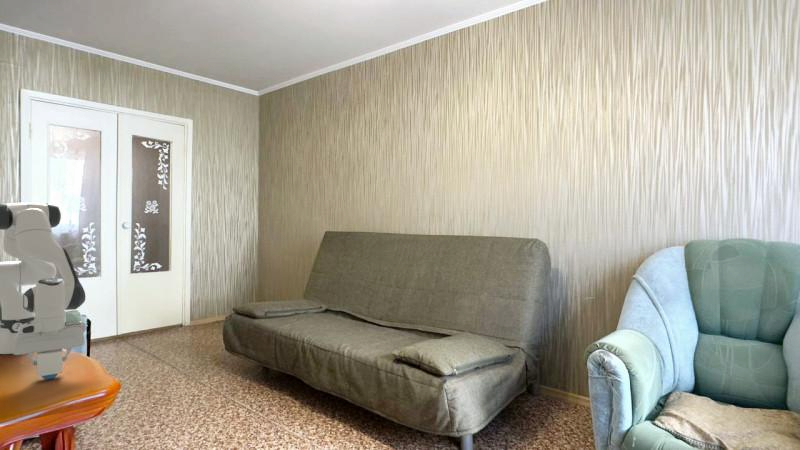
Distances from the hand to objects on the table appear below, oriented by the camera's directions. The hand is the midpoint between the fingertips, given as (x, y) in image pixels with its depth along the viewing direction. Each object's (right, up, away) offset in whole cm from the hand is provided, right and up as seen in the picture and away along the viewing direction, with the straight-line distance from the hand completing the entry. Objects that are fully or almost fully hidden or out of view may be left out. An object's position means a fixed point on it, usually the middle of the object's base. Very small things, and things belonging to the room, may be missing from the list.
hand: (49, 362), depth 157 cm
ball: (0, -4, 0) cm, 4 cm away
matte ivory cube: (0, -3, 0) cm, 3 cm away
